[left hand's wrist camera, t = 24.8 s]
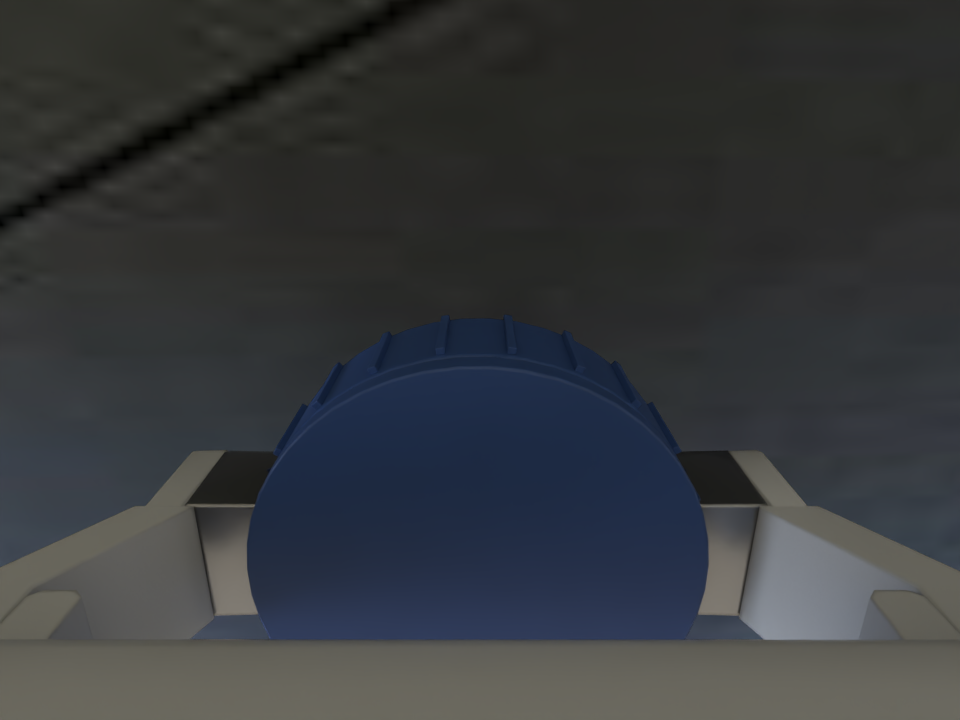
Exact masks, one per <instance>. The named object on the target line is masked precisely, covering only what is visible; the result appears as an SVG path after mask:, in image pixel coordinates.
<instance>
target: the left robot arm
mask: <svg viewBox="0 0 960 720" xmlns="http://www.w3.org/2000/svg"><path fill="white" fill-rule="evenodd" d="M676 456H677V458H678V459H679V461H680V463H681V464H682V466H683V468H684V470H685V472H686V474H687V475H688V477H689V479H690V481H691V483H692V485H693V486H694V488H695V490H696V492H697V493H698V495H699V497H700V499H701V500H699V502H700V505H701V507H702V510H703V513H704V518H705V523H706V529H707V534H708V546H709V567H708V574H707V581H706V588H705V592H704V596H703V599H702V602H701V605H700V609H699V612H698V614H701V615H738V616H739V619H741V620H742V621H743V622H744V623H745V624H747V625H748V626H749V627H750V628H751V629H752V630H754V631H755V632H756V633H757V634H758V635H760V636H761V637H762V638H763V639H764V640H432V639H431V640H425V639H423V640H421V639H419V640H418V639H415V640H414V639H190V638H192V637H193V636H194V635H195V634H196V633H198V632H199V631H200V630H201V629H202V628H204V627H205V626H206V625H207V624H208V623H210V622H211V621H212V620H213V619H214V616H216V615H251V614H258V612H257V609H256V606H255V603H254V600H253V598H252V595H251V589H250V583H249V577H248V572H247V538H248V532H249V525H250V518H251V515H252V512H253V509H254V506H255V503H256V500H257V497H258V493H259V491H260V489H261V488H262V486H263V484H264V482H265V480H266V478H267V476H268V474H269V472H270V470H271V468H272V466H273V465H274V463H275V461H276V460H277V458H278V456H276V455H274V454H273V452H270V451H227V450H210V451H194V452H192V453H191V454H190V455H189V456H188V457H187V458H186V460H185V461H184V462H183V463H182V464H181V465H180V467H179V468H178V469H177V470H176V471H175V472H174V474H173V475H172V476H171V477H170V478H169V479H168V480H167V482H166V483H165V484H164V485H163V486H162V487H161V489H160V490H159V491H158V492H157V493H156V494H155V496H154V497H153V498H152V499H151V500H150V501H149V503H148V504H147V505H146V506H134V507H132V508H130V509H128V510H125V511H123V512H121V513H119V514H117V515H114V516H112V517H110V518H108V519H106V520H103V521H101V522H99V523H97V524H95V525H92V526H90V527H88V528H86V529H84V530H81V531H79V532H77V533H75V534H73V535H70V536H68V537H66V538H64V539H62V540H59V541H57V542H55V543H53V544H51V545H48V546H46V547H44V548H42V549H40V550H37V551H35V552H33V553H31V554H29V555H26V556H24V557H22V558H20V559H18V560H15V561H13V562H11V563H9V564H7V565H4V566H2V567H0V720H960V571H958V570H956V569H953V568H951V567H949V566H947V565H945V564H943V563H940V562H938V561H936V560H934V559H932V558H930V557H927V556H925V555H923V554H921V553H919V552H916V551H914V550H912V549H910V548H908V547H906V546H903V545H901V544H899V543H897V542H895V541H893V540H890V539H888V538H886V537H884V536H882V535H880V534H877V533H875V532H873V531H871V530H869V529H867V528H864V527H862V526H860V525H858V524H856V523H853V522H851V521H849V520H847V519H845V518H843V517H840V516H838V515H836V514H834V513H832V512H830V511H827V510H825V509H823V508H821V507H819V506H807V505H806V504H805V503H804V501H803V500H802V499H801V498H800V497H799V495H798V494H797V493H796V492H795V491H794V490H793V488H792V487H791V486H790V485H789V484H788V482H787V481H786V480H785V479H784V478H783V476H782V475H781V474H780V473H779V472H778V471H777V469H776V468H775V467H774V466H773V465H772V463H771V462H770V461H769V460H768V459H767V458H766V456H765V455H764V454H763V453H762V452H760V451H757V450H743V451H692V452H680V453H678V454H676Z"/></svg>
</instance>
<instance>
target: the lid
mask: <svg viewBox="0 0 960 720" xmlns="http://www.w3.org/2000/svg"><path fill="white" fill-rule="evenodd" d="M680 452H681V449H680V448H679V446H678V444H677V443H676V441H675V439H674V438H673V436H672V434H671V433H670V431H669V429H668V428H667V426H666V424H665V422H664V421H663V419H662V417H661V416H660V414H659V412H658V411H657V409H656V407H655V406H654V404H653V403H652V402H651V403H649V404H646V402H645V401H644V400H643V398H642V397H641V396H640V394H639V393H638V392H637V390H636V389H635V388H634V386H633V385H632V384H631V383H630V382H629V380H628V378H627V376H626V374H625V373H624V371H623V369H622V367H621V365H620V364H619V363H618V362H616V361H614V362H613V363H612V364H610V363H609V362H607V361H606V360H605V359H603V358H602V357H600V356H599V355H598V354H596V353H595V352H594V351H592V350H590V349H589V348H587V347H585V346H583V345H581V344H579V343H578V342H576V341H574V339H573V337H572V335H571V333H570V332H567V331H565V330H564V332H563V334H562V335H560V334H558V333H555V332H552V331H550V330H547V329H545V328H541V327H537V326H533V325H529V324H525V323H521V322H516V321H513V320H512V316H511V315H504V319H503V320H498V319H490V318H488V319H456V320H450V318H449V315H446V316H441V322H435V323H430V324H427V325H423V326H419V327H416V328H412V329H408V330H405V331H403V332H401V333H398V334H396V335H393V336H392V335H391V333H390V332H389V331H388V332H386V333H384V334H383V335H382V337H381V339H380V342H378V343H376V344H375V345H373V346H371V347H369V348H368V349H366V350H364V351H363V352H361V353H359V354H358V355H357V356H355V357H354V358H353V359H351V360H350V361H349V362H348V363H346V364H345V365H344V366H342V365H341V364H340V363H339V362H338V363H337V364H336V365H335V366H334V367H333V369H332V371H331V372H330V374H329V376H328V378H327V379H326V381H325V383H324V385H323V386H322V387H321V389H320V390H319V391H318V393H317V394H316V396H315V397H314V398H313V400H312V401H311V403H310V404H309V405H308V406H306V405H304V404H302V406H301V407H300V409H299V411H298V412H297V414H296V416H295V417H294V419H293V421H292V422H291V424H290V425H289V427H288V429H287V430H286V432H285V434H284V435H283V437H282V439H281V440H280V442H279V443H278V445H277V447H276V448H275V450H274V452H273V454H274V455H276V456H278V458H277V460H276V461H275V463H274V465H273V466H272V468H271V470H270V472H269V474H268V476H267V478H266V480H265V482H264V484H263V486H262V488H261V489H260V491H259V493H258V497H257V500H256V503H255V506H254V509H253V512H252V515H251V518H250V525H249V532H248V538H247V572H248V577H249V583H250V589H251V595H252V598H253V600H254V603H255V606H256V609H257V612H258V615H259V618H260V620H261V622H262V624H263V626H264V628H265V630H266V632H267V634H268V636H269V638H270V639H414V640H415V639H418V640H419V639H421V640H423V639H425V640H431V639H432V640H685V639H686V637H687V636H688V634H689V631H690V629H691V627H692V625H693V623H694V621H695V619H696V617H697V615H698V612H699V609H700V605H701V602H702V599H703V596H704V592H705V588H706V581H707V574H708V567H709V546H708V534H707V529H706V523H705V518H704V513H703V510H702V507H701V505H700V502H699V500H701V499H700V497H699V495H698V493H697V492H696V490H695V488H694V486H693V485H692V483H691V481H690V479H689V477H688V475H687V474H686V472H685V470H684V468H683V466H682V464H681V463H680V461H679V459H678V458H677V456H676V454H678V453H680Z"/></svg>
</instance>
